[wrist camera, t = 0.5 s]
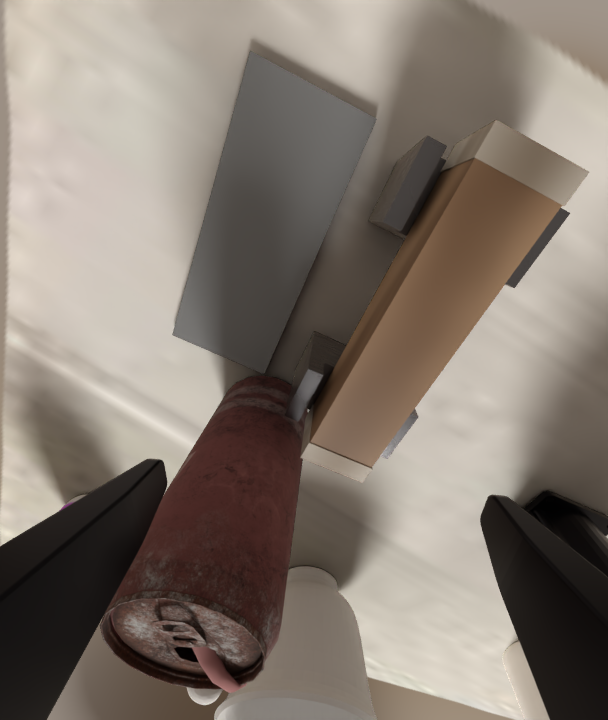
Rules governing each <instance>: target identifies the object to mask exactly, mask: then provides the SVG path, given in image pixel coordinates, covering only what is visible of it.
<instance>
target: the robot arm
mask: <svg viewBox="0 0 608 720" xmlns="http://www.w3.org/2000/svg"><path fill="white" fill-rule="evenodd" d="M166 487H167V478H166V472H165V466H164V462H163V461H162V460H159V459H146V460H144V461H143V462H141V463H139V464H138V465H136V466H134V467H133V468H131V469H129V470H128V471H126V472H124V473H122V474H121V475H119V476H117V477H116V478H114V479H112V480H111V481H109V482H107V483H106V484H104V485H102V486H101V487H99V488H97V489H96V490H94V491H92V492H91V493H89V494H87V495H86V496H84V497H82V498H80V499H79V500H77V501H75V502H74V503H72V504H70V505H69V506H67V507H65V508H64V509H62V510H60V511H59V512H57V513H55V514H54V515H52V516H50V517H49V518H47V519H45V520H44V521H42V522H40V523H38V524H37V525H35V526H33V527H32V528H30V529H28V530H27V531H25V532H23V533H22V534H20V535H18V536H17V537H15V538H13V539H12V540H10V541H8V542H7V543H5V544H3V545H1V546H0V720H47V718H48V716H49V714H50V713H51V711H52V709H53V707H54V705H55V704H56V702H57V700H58V698H59V696H60V694H61V692H62V690H63V689H64V687H65V685H66V683H67V681H68V680H69V678H70V676H71V674H72V672H73V671H74V669H75V667H76V665H77V663H78V661H79V659H80V658H81V656H82V654H83V652H84V650H85V648H86V647H87V645H88V643H89V641H90V639H91V638H92V636H93V634H94V632H95V630H96V628H97V627H98V625H99V623H100V621H101V619H102V617H103V616H104V614H105V612H106V610H107V608H108V606H109V605H110V603H111V601H112V599H113V597H114V595H115V594H116V592H117V590H118V588H119V586H120V584H121V583H122V581H123V579H124V577H125V575H126V573H127V572H128V570H129V568H130V566H131V564H132V562H133V561H134V559H135V557H136V555H137V553H138V551H139V549H140V547H141V546H142V544H143V541H144V539H145V537H146V535H147V533H148V530H149V528H150V526H151V523H152V521H153V519H154V516H155V514H156V511H157V509H158V507H159V504H160V502H161V500H162V497H163V495H164V493H165V490H166ZM480 522H481V527H482V531H483V534H484V538H485V542H486V545H487V549H488V552H489V556H490V559H491V563H492V566H493V570H494V573H495V577H496V580H497V583H498V587H499V589H500V592H501V595H502V598H503V600H504V603H505V605H506V608H507V611H508V613H509V616H510V618H511V621H512V624H513V626H514V629H515V631H516V634H517V636H518V639H519V642H520V644H521V647H522V649H523V652H524V654H525V657H526V660H527V662H528V665H529V667H530V670H531V673H532V675H533V678H534V680H535V683H536V685H537V688H538V691H539V693H540V696H541V698H542V701H543V703H544V706H545V709H546V711H547V714H548V716H549V719H550V720H608V538H607V537H606V536H607V535H608V516H606V515H604V514H602V513H599V512H597V511H595V510H592V509H590V508H588V507H586V506H583V505H581V504H579V503H576V502H574V501H572V500H569V499H567V498H565V497H562V496H560V495H558V494H555V493H553V492H550V491H546V492H543V493H542V494H540V495H539V496H538V497H537V498H536V499H535V500H534V501H533V502H532V503H530V504H529V505H528V506H527V507H526V508H525V509H522V508H521V507H520V506H519V505H517V504H516V503H515V502H514V501H513V500H511V499H510V498H509V497H507V496H501V495H490V496H489V497H488V498H487V501H486V503H485V506H484V509H483V511H482V514H481V518H480Z"/></svg>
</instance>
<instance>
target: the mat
mask: <svg viewBox="0 0 608 720" xmlns="http://www.w3.org/2000/svg"><path fill="white" fill-rule="evenodd" d="M376 120H377V119H376V118H375V117H373V116H371V115H369V114H367V113H365V112H363V111H362V110H360V109H358V108H356V107H354V106H352V105H350V104H349V103H347V102H345V101H343V100H341V99H339V98H337V97H336V96H334V95H332V94H330V93H328V92H326V91H324V90H323V89H321V88H319V87H317V86H315V85H313V84H311V83H310V82H308V81H306V80H304V79H302V78H300V77H298V76H297V75H295V74H293V73H291V72H289V71H287V70H285V69H284V68H282V67H280V66H278V65H276V64H274V63H272V62H271V61H269V60H267V59H265V58H263V57H261V56H259V55H258V54H256V53H254V52H252V51H250V54H249V57H248V61H247V65H246V68H245V72H244V76H243V79H242V83H241V86H240V90H239V94H238V97H237V101H236V105H235V108H234V112H233V116H232V119H231V123H230V127H229V130H228V134H227V137H226V141H225V145H224V148H223V152H222V156H221V159H220V163H219V167H218V170H217V174H216V178H215V181H214V185H213V188H212V192H211V196H210V199H209V203H208V207H207V210H206V214H205V218H204V221H203V225H202V229H201V232H200V236H199V240H198V243H197V247H196V250H195V254H194V258H193V261H192V265H191V269H190V272H189V276H188V280H187V283H186V287H185V291H184V294H183V298H182V301H181V305H180V309H179V312H178V316H177V320H176V323H175V327H174V331H173V334H172V335H174V336H176V337H178V338H180V339H183V340H185V341H187V342H190V343H192V344H194V345H197V346H199V347H201V348H204V349H206V350H208V351H211V352H213V353H215V354H218V355H220V356H222V357H225V358H227V359H229V360H232V361H234V362H236V363H239V364H241V365H243V366H246V367H248V368H250V369H253V370H255V371H257V372H260V373H262V374H264V373H265V371H266V369H267V367H268V364H269V362H270V360H271V357H272V355H273V353H274V351H275V348H276V346H277V344H278V342H279V339H280V337H281V335H282V333H283V330H284V328H285V326H286V323H287V321H288V319H289V317H290V314H291V312H292V310H293V308H294V305H295V303H296V301H297V299H298V296H299V294H300V292H301V289H302V287H303V285H304V283H305V280H306V278H307V276H308V274H309V271H310V269H311V267H312V265H313V262H314V260H315V258H316V255H317V253H318V251H319V249H320V246H321V244H322V242H323V240H324V237H325V235H326V233H327V231H328V228H329V226H330V224H331V222H332V219H333V217H334V215H335V212H336V210H337V208H338V206H339V203H340V201H341V199H342V197H343V194H344V192H345V190H346V188H347V185H348V183H349V181H350V178H351V176H352V174H353V172H354V169H355V167H356V165H357V163H358V160H359V158H360V156H361V154H362V151H363V149H364V147H365V144H366V142H367V140H368V138H369V135H370V133H371V131H372V129H373V126H374V124H375V122H376Z"/></svg>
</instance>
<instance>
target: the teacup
mask: <svg viewBox="0 0 608 720" xmlns="http://www.w3.org/2000/svg"><path fill="white" fill-rule="evenodd" d="M337 591H338V585H337V582H336V580H335V579H334V577H333V576H332V575H330V574H329V573H328V572H326V571H324V570H322V569H319V568H316V567H309V566H301V567H295V568H291V569H289V570H288V577H287V584H286V592H285V600H284V607H283V615H282V623H281V629H280V633H279V638H278V641H277V643H276V644H275V646H274V648H273V649H272V651H271V653H270V654H269V656H268V658H267V659H266V661H265V665H264V670H263V671H262V672H261V673H260V674H259V675H258V676H257V677H256V678H255V679H254V680H253V681H251V682H248V683H247V685H246V686H245V687H243V688H241V689H239V690H237V691H235V692H233V693H229V695H228V697H227V698H226V700H225V701H224V702H223V703H222V704H221V705H220V706H219V707H218V708H217V710H216V712H215V715H214V720H377V718H376V716H375V712H374V709H373V705H372V702H371V696H370V691H369V686H368V680H367V674H366V668H365V662H364V656H363V650H362V643H361V637H360V633H359V628H358V624H357V620H356V617H355V614H354V612H353V610H352V608H351V606H350V605H349V603H348V602H347V600H346V599H345V598H344V597H343V596H342V595H341V594H340V593H338V592H337ZM222 690H223V689H220V690H211V689H194V688H188V687H187V691H188V694H189V696H190V697H191V699H192V700H193V701H195V702H196V703H198V704H202V705H207V704H210V703H213V702H214V701H215V700H217V698H218V697H219V695H220V694H221V692H222Z"/></svg>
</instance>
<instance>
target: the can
mask: <svg viewBox="0 0 608 720" xmlns="http://www.w3.org/2000/svg"><path fill="white" fill-rule="evenodd" d="M290 390H291V385H290V384H288V383H286V382H284V381H282V380H280V379H278V378H274V377H268V376H253V377H247V378H245V379H243V380H241V381H239V382H236V383H235V384H234V385H233V386H232V387H231V388H230V389H229V390H228V392H227V393H226V395H225V396H224V398H223V400H222V401H221V403H220V405H219V406H218V408H217V409H216V411H215V413H214V414H213V416H212V418H211V419H210V421H209V422H208V424H207V426H206V427H205V429H204V431H203V432H202V434H201V436H200V437H199V439H198V440H197V442H196V444H195V445H194V447H193V449H192V450H191V452H190V453H189V455H188V457H187V458H186V460H185V462H184V463H183V465H182V466H181V468H180V470H179V471H178V473H177V475H176V476H175V478H174V479H173V481H172V483H171V484H170V486H169V488H168V489H167V491H166V492H165V494H164V496H163V497H162V500H161V502H160V504H159V507H158V509H157V511H156V514H155V516H154V519H153V521H152V523H151V526H150V528H149V530H148V533H147V535H146V537H145V539H144V541H143V544H142V546H141V547H140V549H139V551H138V553H137V555H136V557H135V559H134V561H133V562H132V564H131V566H130V568H129V570H128V572H127V573H126V575H125V577H124V579H123V581H122V583H121V584H120V586H119V588H118V590H117V592H116V594H115V595H114V597H113V599H112V601H111V603H110V605H109V606H108V608H107V610H106V612H105V614H104V617H103V619H102V622H101V624H100V629H101V633H102V637H103V640H104V642H105V643H106V644H107V646H108V647H109V648H110V649H111V651H112V652H113V654H115V655H116V656H117V657H118V658H120V659H121V660H122V661H124V662H125V663H126V664H127V665H129V666H130V667H132V668H134V669H136V670H138V671H140V672H142V673H144V674H146V675H148V676H149V677H152V678H155V679H158V680H161V681H164V682H167V683H170V684H173V685H178V686H183V687H188V688H194V689H211V690H220V689H224V690H225V691H227V692H229V693H233V692H235V691H237V690H239V689H241V688H243V687H245V686H246V685H247V683H248V682H251V681H253V680H254V679H255V678H256V677H257V676H258V675H259V674H260V673H261V672H262V671H263V670H264V665H265V661H266V659H267V658H268V656H269V654H270V653H271V651H272V649H273V648H274V646H275V644H276V643H277V641H278V638H279V633H280V629H281V623H282V615H283V607H284V600H285V592H286V584H287V577H288V569H289V561H290V553H291V546H292V538H293V530H294V522H295V515H296V507H297V499H298V492H299V484H300V476H301V468H302V461H303V459H302V458H300V456H301V449H302V441H303V434H304V426H305V419H306V416H307V414H308V412H307V408H306V409H305V411H304V412H303V414H302V416H301V418H300V420H299V422H298V421H295V420H293V419H291V418H288V417H286V416H284V415H285V411H286V407H287V403H288V399H289V394H290Z"/></svg>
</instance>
